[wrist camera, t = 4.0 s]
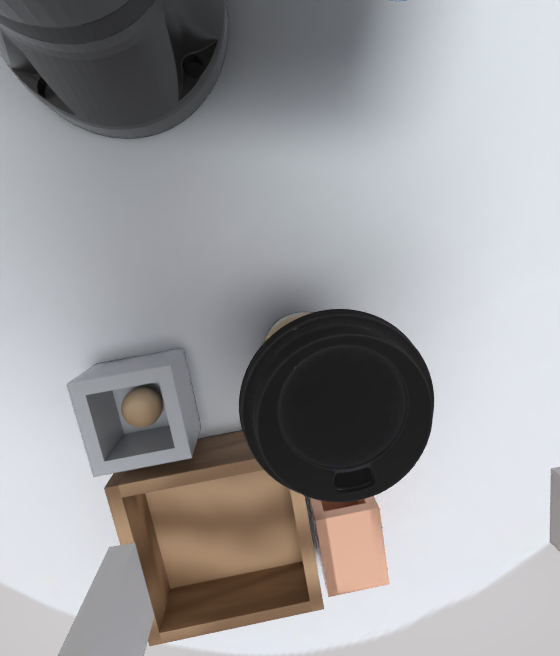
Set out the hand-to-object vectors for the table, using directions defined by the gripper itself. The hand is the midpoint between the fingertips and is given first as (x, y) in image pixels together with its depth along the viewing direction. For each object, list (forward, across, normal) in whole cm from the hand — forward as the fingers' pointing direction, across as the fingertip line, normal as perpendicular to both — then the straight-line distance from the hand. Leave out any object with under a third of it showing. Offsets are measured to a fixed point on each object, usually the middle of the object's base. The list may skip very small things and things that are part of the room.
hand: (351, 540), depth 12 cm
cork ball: (+19, -12, -1) cm, 22 cm away
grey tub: (+20, -12, -1) cm, 23 cm away
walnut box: (+20, -8, -13) cm, 24 cm away
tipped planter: (+20, +2, -15) cm, 25 cm away
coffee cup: (+20, +1, +1) cm, 20 cm away
